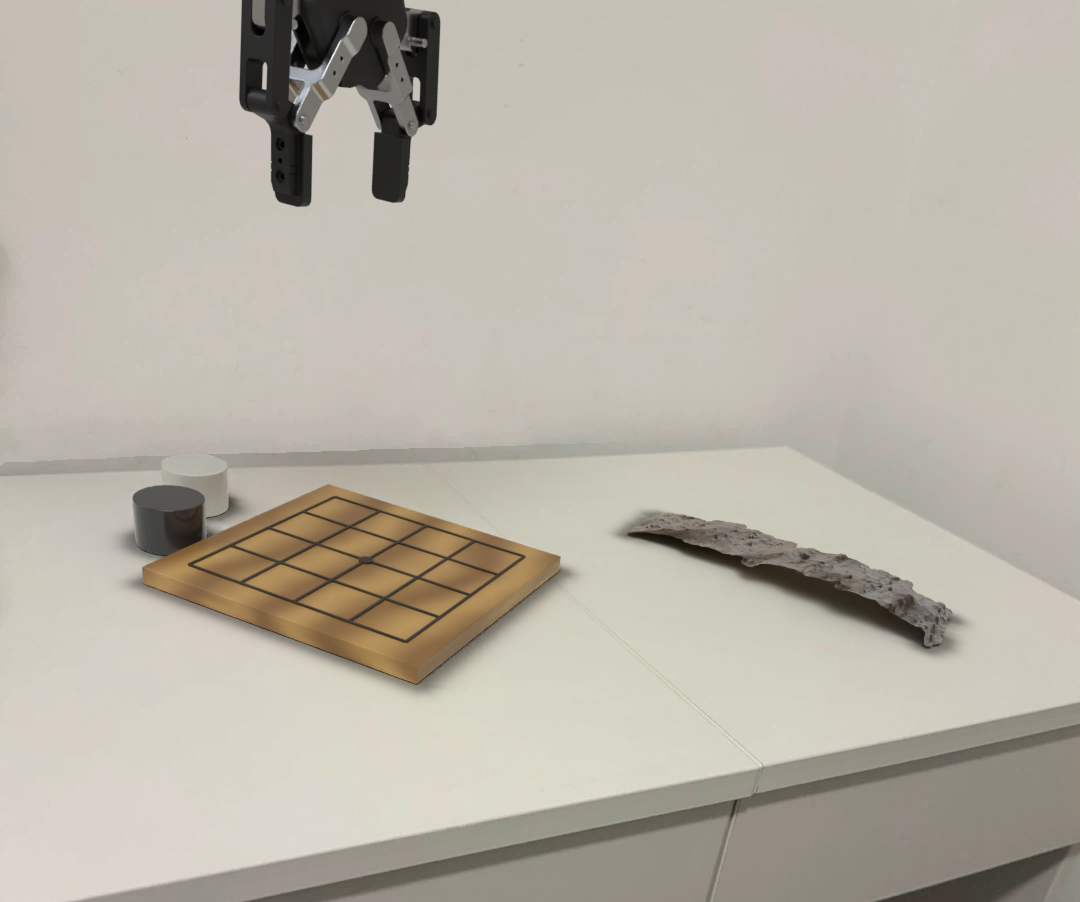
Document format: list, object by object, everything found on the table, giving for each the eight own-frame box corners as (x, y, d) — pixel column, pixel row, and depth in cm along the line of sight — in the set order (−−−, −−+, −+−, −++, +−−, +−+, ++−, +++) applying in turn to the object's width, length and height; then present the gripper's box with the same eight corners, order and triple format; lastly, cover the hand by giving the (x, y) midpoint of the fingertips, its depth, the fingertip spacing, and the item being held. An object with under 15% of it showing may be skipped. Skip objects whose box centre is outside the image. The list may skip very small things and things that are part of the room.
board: (142, 583, 67) (141, 564, 66) (327, 498, 83) (328, 481, 82) (416, 684, 61) (417, 664, 60) (559, 571, 77) (561, 554, 76)
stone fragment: (937, 658, 74) (955, 607, 81) (952, 622, 72) (969, 574, 80) (607, 550, 81) (653, 513, 89) (613, 515, 80) (659, 480, 87)
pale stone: (149, 506, 77) (146, 463, 75) (192, 489, 80) (190, 448, 79) (200, 523, 75) (198, 480, 74) (241, 505, 79) (241, 464, 77)
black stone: (120, 542, 71) (116, 497, 69) (168, 523, 75) (166, 479, 73) (174, 562, 70) (172, 516, 68) (221, 541, 73) (219, 497, 72)
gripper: (385, -114, 62) (371, 189, 71) (197, -173, 52) (208, 193, 60) (489, -104, 59) (461, 211, 68) (312, -164, 49) (306, 219, 57)
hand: (342, 202), depth 64 cm, fingers open, 8 cm apart
